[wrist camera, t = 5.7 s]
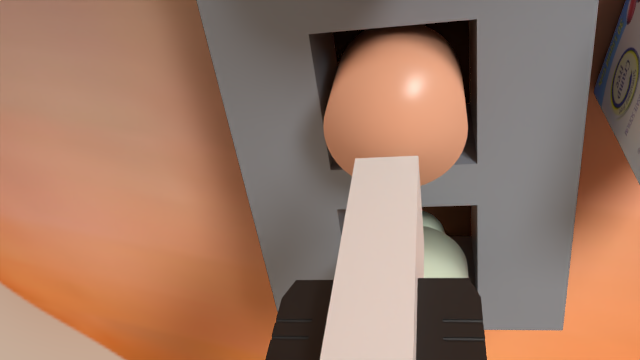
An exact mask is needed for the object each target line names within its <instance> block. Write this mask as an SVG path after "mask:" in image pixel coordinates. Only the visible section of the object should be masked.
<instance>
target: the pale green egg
mask: <svg viewBox="0 0 640 360" xmlns="http://www.w3.org/2000/svg"><path fill="white" fill-rule="evenodd" d="M422 218H423V233H424V278H469V277H468V265H467V260H466V256H465V254H464V252H463V250H462V249H461V248H460V246H459V245H458V244H457V243H456V242H455V241H454V240H453V239H452V238H450V237H449V236H448V235H446V234H445V231H444V228H443V226H442V224H441V222H440V221H439V220H438V219H437V218H436V217H435V216H433V215H432V214H430V213H428V212H426V211H423V210H422Z"/></svg>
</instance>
